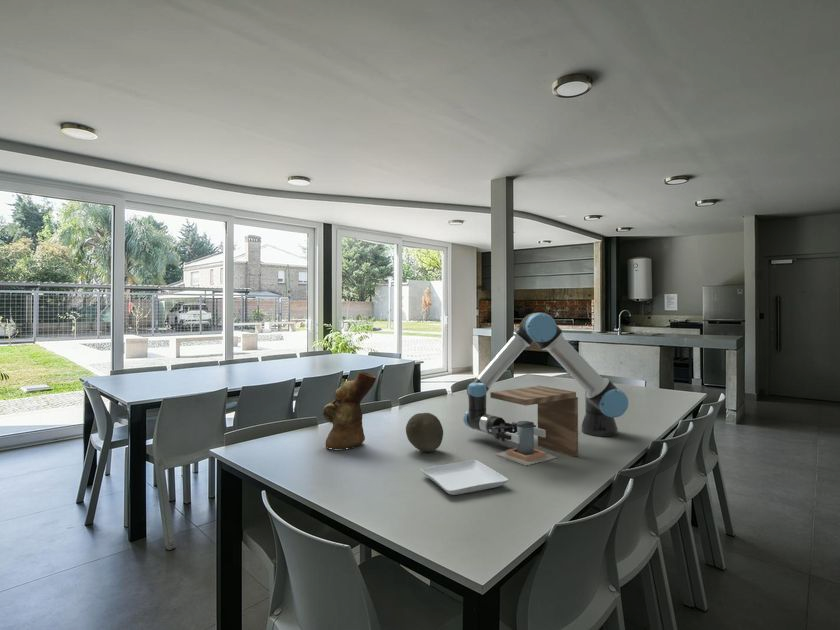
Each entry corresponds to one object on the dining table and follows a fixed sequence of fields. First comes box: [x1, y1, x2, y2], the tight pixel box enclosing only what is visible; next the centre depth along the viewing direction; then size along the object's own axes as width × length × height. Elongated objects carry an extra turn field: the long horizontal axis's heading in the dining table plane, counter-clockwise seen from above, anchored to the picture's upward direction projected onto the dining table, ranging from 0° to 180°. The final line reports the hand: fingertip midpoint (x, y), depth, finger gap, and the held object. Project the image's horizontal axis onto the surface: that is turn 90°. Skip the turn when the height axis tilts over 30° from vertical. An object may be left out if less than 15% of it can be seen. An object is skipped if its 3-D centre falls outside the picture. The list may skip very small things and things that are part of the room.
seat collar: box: [494, 447, 558, 467], centre depth 175 cm, size 16×16×2 cm
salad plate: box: [420, 459, 509, 496], centre depth 149 cm, size 21×21×3 cm
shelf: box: [489, 385, 579, 458], centre depth 174 cm, size 27×18×24 cm, turn 123°
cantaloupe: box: [405, 412, 444, 453], centre depth 181 cm, size 14×14×15 cm
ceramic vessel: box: [322, 370, 377, 449], centre depth 191 cm, size 16×22×30 cm
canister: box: [516, 420, 535, 455], centre depth 175 cm, size 6×6×12 cm
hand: (532, 436), depth 172 cm, fingers open, 13 cm apart
